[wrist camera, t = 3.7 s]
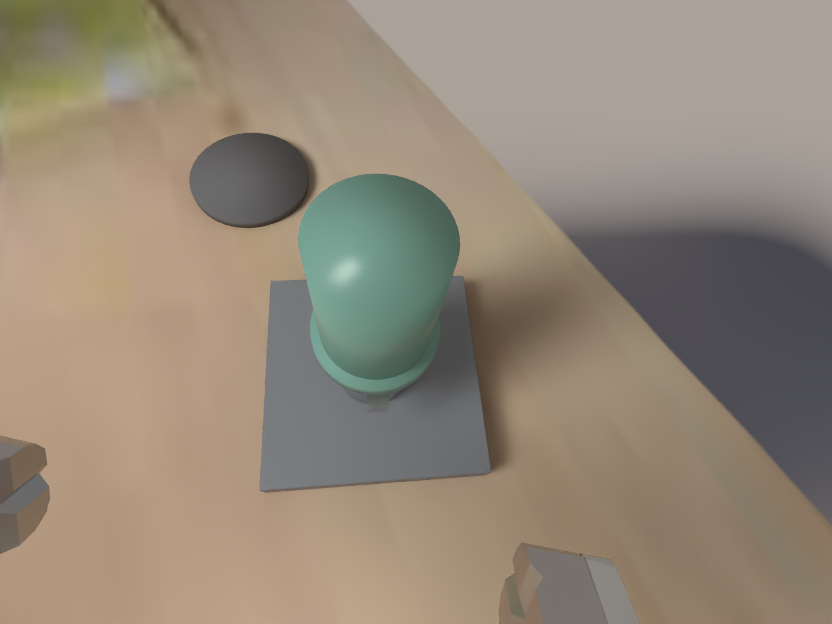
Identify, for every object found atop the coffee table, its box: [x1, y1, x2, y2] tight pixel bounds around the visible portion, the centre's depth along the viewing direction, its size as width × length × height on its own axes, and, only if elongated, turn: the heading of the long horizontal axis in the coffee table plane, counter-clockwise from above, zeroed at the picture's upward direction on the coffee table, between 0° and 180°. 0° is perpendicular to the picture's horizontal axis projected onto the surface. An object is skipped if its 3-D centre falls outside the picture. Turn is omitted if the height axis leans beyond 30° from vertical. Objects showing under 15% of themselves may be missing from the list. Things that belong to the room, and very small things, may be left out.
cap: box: [298, 174, 460, 395], centre depth 18 cm, size 6×6×8 cm
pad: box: [190, 133, 309, 228], centre depth 33 cm, size 8×8×1 cm
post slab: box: [260, 276, 491, 493], centre depth 27 cm, size 12×12×2 cm
